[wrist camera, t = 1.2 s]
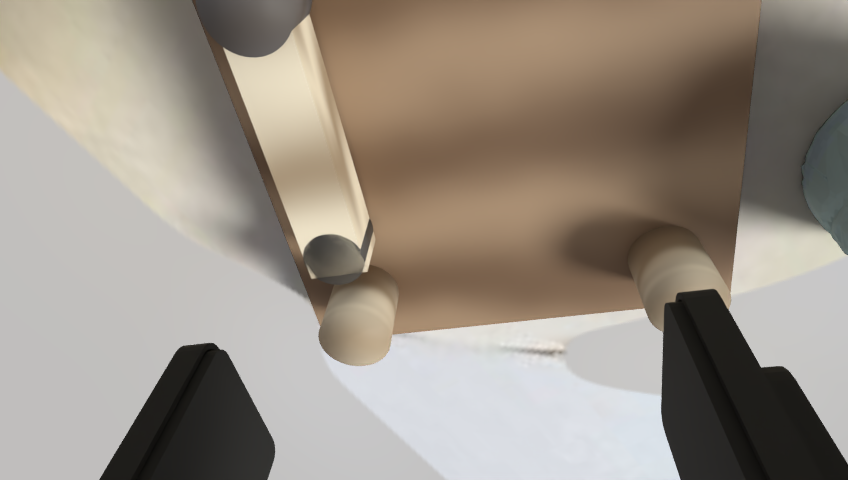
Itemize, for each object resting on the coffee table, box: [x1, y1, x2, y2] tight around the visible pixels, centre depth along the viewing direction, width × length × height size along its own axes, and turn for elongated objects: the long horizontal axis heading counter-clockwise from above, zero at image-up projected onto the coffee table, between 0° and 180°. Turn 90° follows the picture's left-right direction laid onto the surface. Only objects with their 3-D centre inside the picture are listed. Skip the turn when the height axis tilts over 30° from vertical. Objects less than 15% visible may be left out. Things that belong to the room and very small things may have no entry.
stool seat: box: [192, 0, 762, 366], centre depth 23 cm, size 20×20×6 cm
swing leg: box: [196, 0, 376, 285], centre depth 22 cm, size 13×3×3 cm, turn 12°
